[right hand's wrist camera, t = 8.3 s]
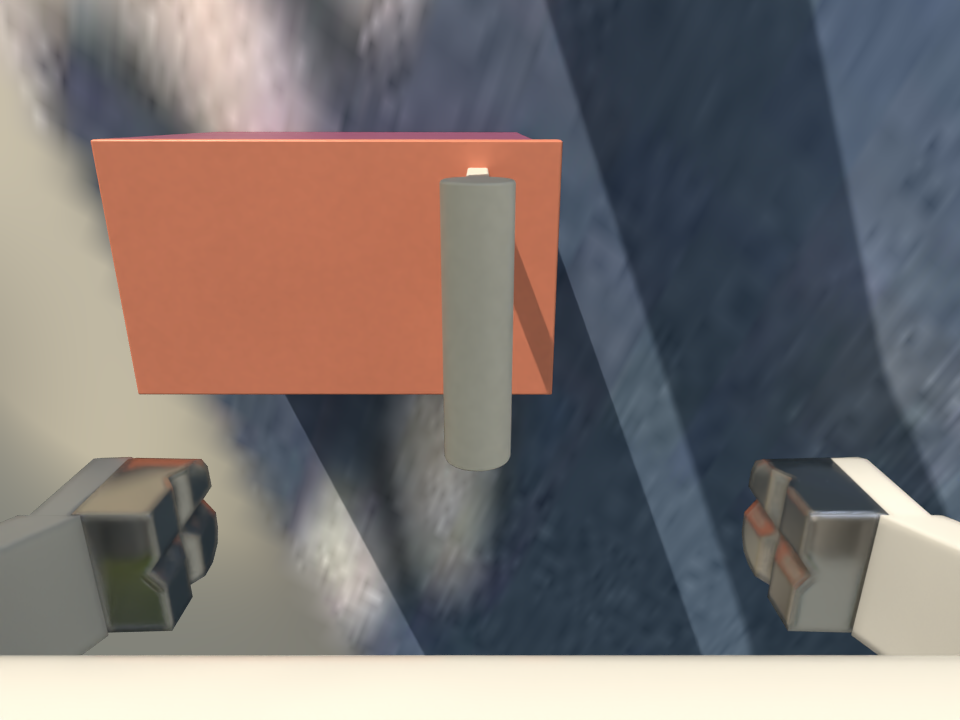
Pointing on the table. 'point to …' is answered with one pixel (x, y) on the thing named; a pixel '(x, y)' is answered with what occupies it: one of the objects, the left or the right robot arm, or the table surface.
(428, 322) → the lid
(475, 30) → the table surface
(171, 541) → the right robot arm
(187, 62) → the table surface
